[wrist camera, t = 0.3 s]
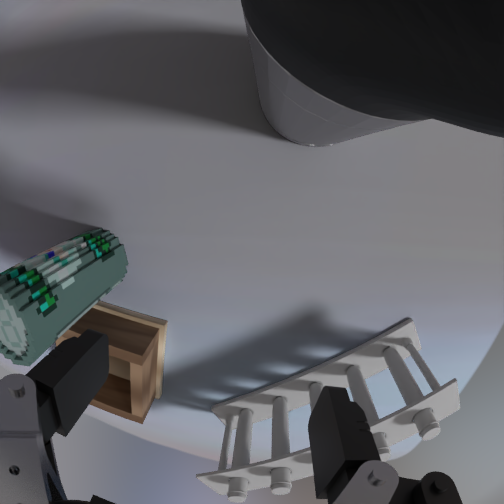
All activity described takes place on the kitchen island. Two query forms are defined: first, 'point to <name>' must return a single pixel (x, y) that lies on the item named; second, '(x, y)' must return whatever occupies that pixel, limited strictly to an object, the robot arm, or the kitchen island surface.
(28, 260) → the can
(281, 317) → the kitchen island surface
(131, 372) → the sleeve holder
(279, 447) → the test tube rack
